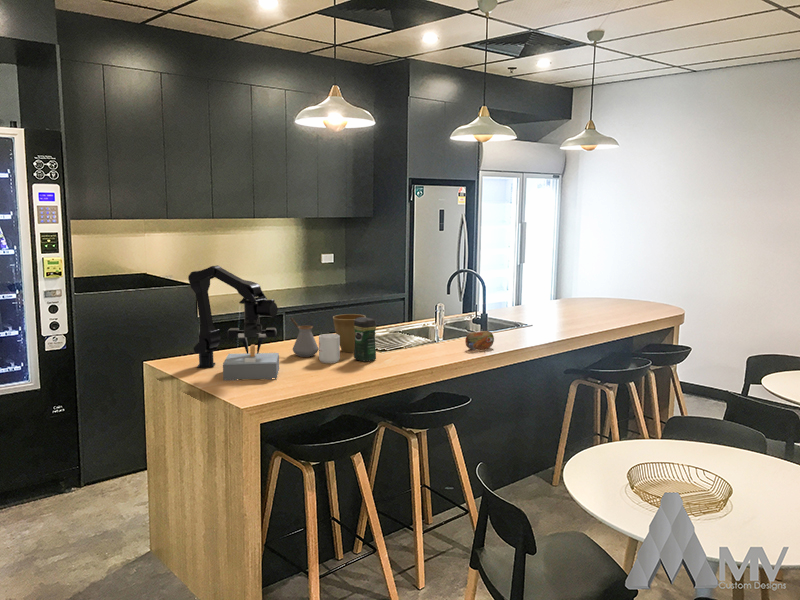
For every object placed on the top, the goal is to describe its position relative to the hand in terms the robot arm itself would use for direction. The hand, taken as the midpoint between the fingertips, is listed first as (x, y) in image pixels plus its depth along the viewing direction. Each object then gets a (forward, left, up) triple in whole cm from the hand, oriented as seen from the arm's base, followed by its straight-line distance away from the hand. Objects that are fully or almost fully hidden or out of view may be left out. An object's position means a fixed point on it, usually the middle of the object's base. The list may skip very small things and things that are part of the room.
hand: (252, 353), depth 258 cm
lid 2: (+8, 0, -1) cm, 8 cm away
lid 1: (0, 0, -1) cm, 1 cm away
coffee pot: (-32, +18, -8) cm, 38 cm away
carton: (+4, 0, -7) cm, 8 cm away
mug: (-17, +30, -8) cm, 35 cm away
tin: (-34, +101, -8) cm, 107 cm away
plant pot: (-35, +40, -8) cm, 54 cm away
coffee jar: (-17, +46, -8) cm, 50 cm away
